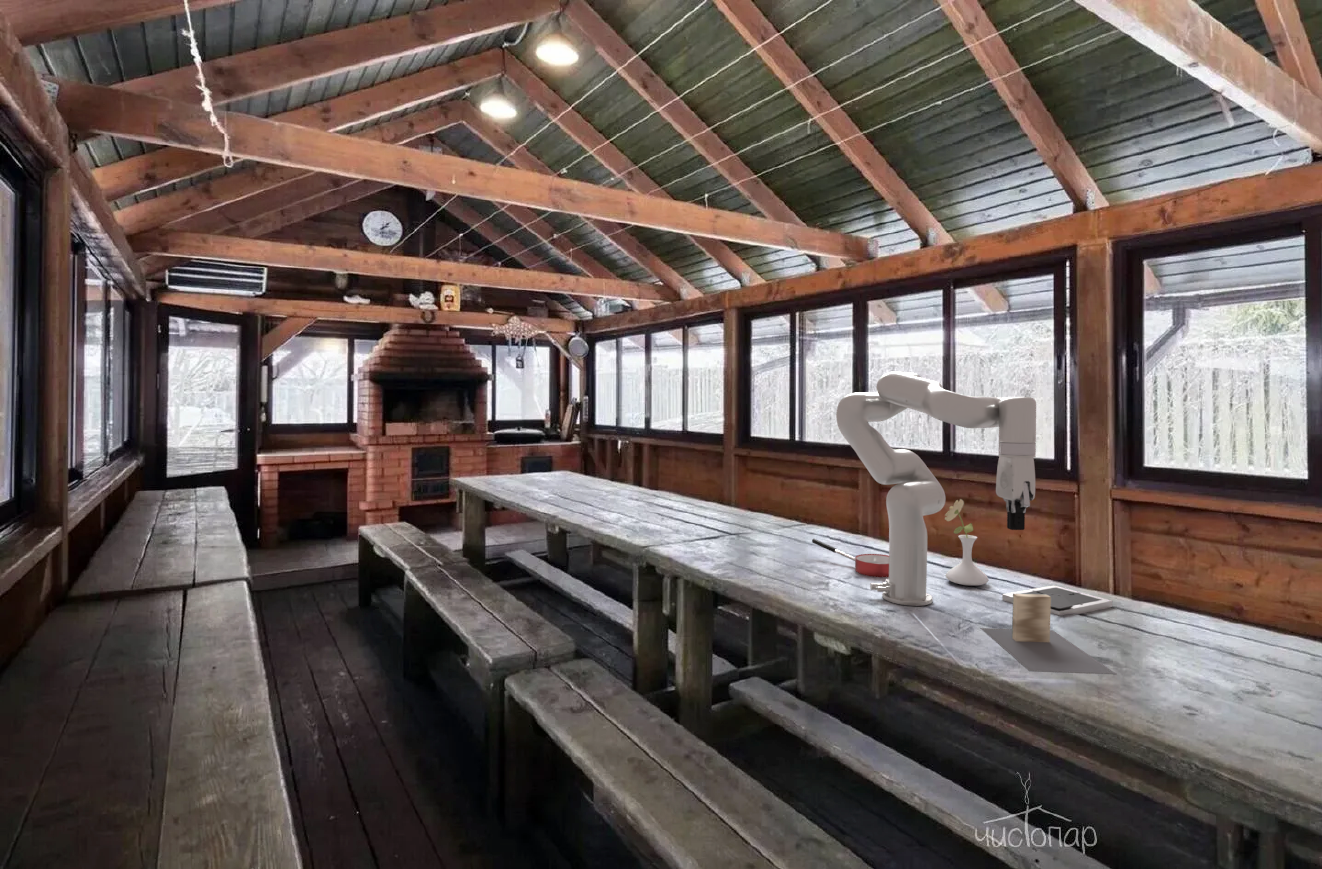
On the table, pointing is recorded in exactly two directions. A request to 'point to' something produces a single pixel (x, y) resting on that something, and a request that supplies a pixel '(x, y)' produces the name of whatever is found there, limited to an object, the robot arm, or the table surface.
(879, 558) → the frying pan
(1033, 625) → the tile
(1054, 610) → the picture frame
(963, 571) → the flower in vase
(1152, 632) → the table surface
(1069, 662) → the rubber mat
